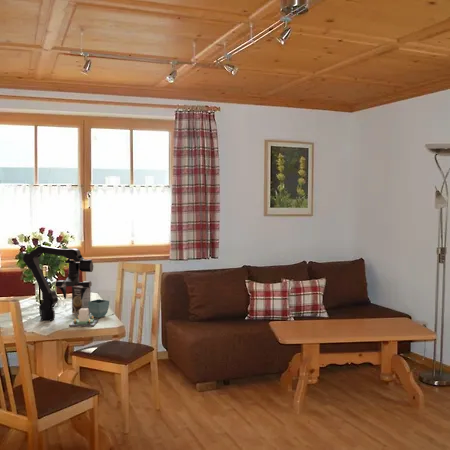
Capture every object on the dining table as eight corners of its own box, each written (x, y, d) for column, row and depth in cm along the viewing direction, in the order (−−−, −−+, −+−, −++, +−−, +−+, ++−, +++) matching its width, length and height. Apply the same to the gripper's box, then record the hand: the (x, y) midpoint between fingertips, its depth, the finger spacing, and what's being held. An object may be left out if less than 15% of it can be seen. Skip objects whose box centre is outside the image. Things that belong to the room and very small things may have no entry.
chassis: (68, 326, 293) (68, 320, 292) (75, 321, 306) (74, 314, 305) (93, 326, 293) (93, 320, 293) (98, 321, 306) (98, 314, 306)
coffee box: (71, 313, 325) (71, 286, 325) (79, 311, 331) (79, 285, 330) (83, 315, 321) (83, 287, 320) (90, 313, 327) (90, 286, 326)
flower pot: (99, 318, 312) (98, 303, 312) (87, 317, 317) (87, 301, 316) (109, 316, 320) (109, 300, 319) (98, 314, 324) (98, 299, 324)
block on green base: (72, 324, 294) (72, 311, 294) (76, 320, 304) (76, 307, 304) (91, 324, 294) (90, 311, 294) (95, 320, 304) (95, 307, 304)
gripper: (52, 272, 299) (52, 301, 300) (86, 273, 299) (86, 302, 300) (58, 270, 310) (58, 297, 311) (92, 271, 310) (91, 298, 311)
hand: (73, 299), depth 308 cm, fingers open, 9 cm apart
